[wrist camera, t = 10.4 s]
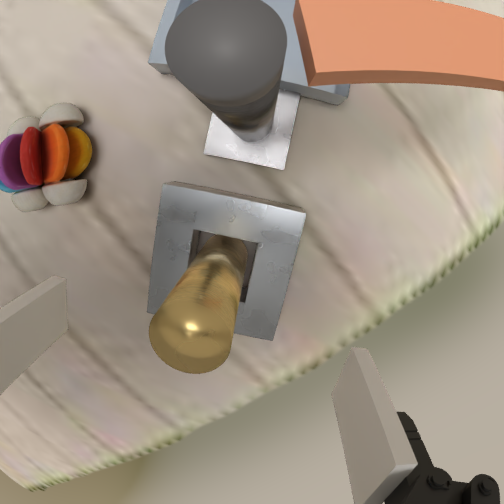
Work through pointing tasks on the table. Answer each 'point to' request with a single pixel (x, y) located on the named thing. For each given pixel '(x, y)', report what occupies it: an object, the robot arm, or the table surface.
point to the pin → (202, 309)
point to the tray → (293, 63)
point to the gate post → (254, 129)
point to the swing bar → (332, 46)
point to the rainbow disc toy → (45, 158)
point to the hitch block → (232, 225)
